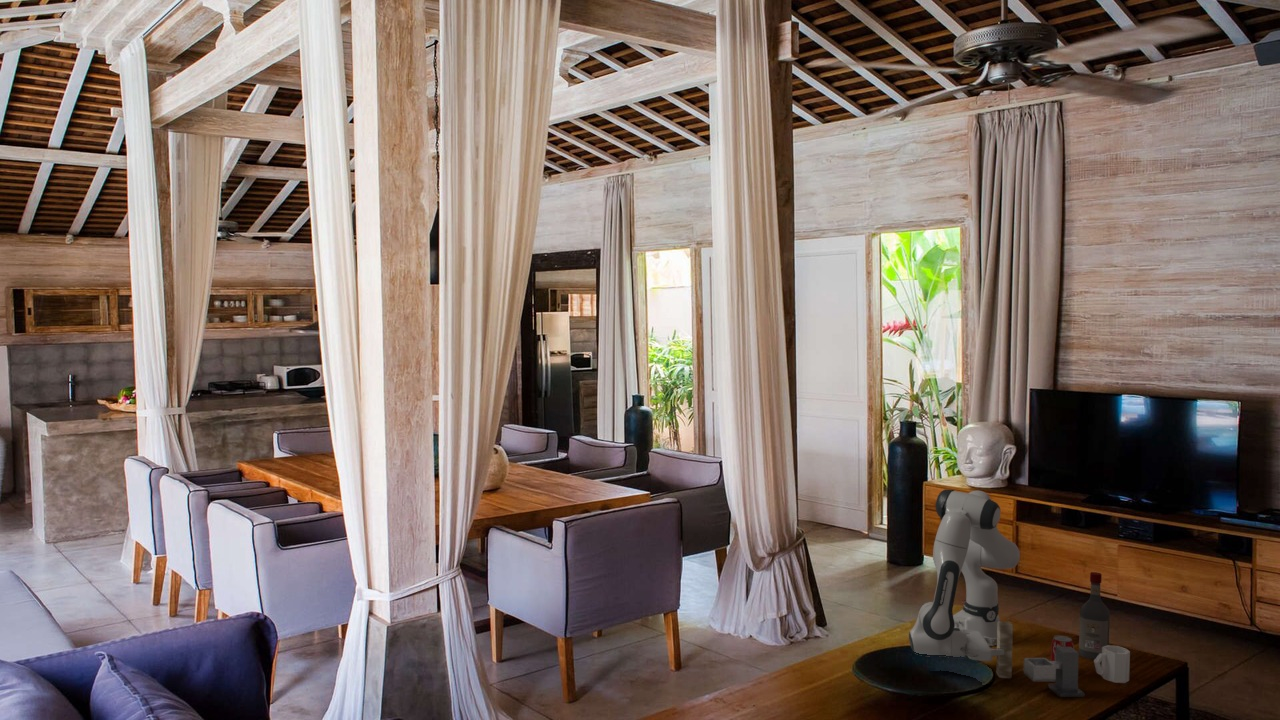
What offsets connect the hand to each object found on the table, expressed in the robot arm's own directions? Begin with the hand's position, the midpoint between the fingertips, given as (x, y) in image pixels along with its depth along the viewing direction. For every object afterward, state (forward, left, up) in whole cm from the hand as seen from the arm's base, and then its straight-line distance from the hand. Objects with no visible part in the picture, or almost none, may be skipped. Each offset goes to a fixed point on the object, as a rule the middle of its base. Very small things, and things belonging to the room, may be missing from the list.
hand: (1000, 646), depth 321 cm
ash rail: (+1, +1, -10) cm, 10 cm away
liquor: (-6, +44, -10) cm, 46 cm away
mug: (+13, +34, -10) cm, 38 cm away
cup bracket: (+17, +8, -10) cm, 21 cm away
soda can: (+4, +22, -10) cm, 25 cm away
